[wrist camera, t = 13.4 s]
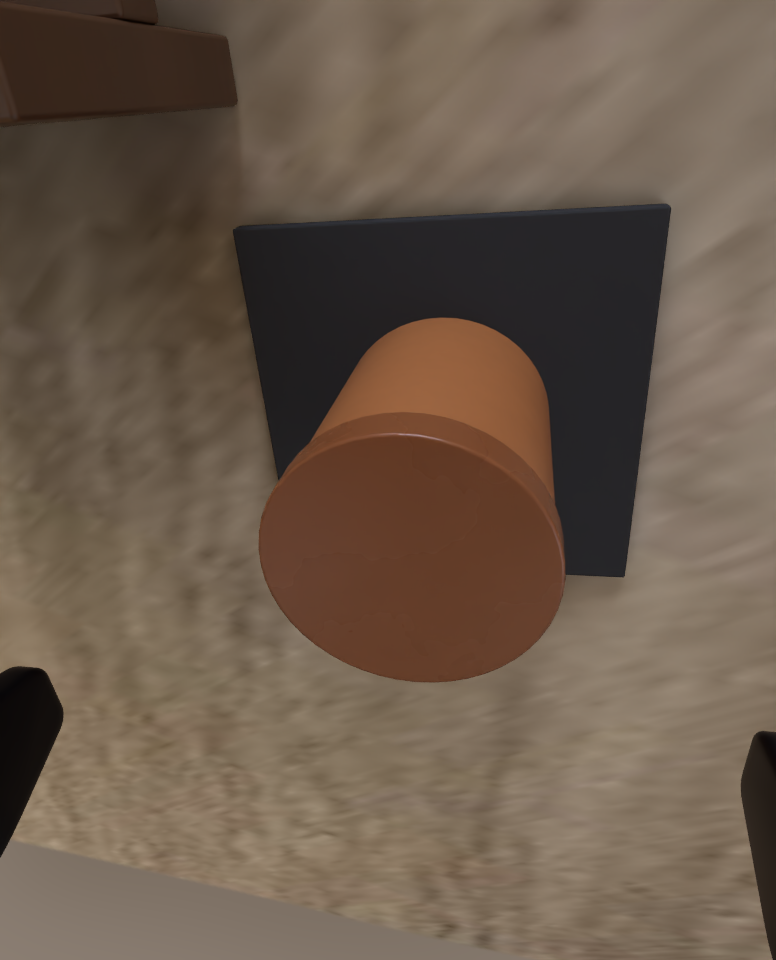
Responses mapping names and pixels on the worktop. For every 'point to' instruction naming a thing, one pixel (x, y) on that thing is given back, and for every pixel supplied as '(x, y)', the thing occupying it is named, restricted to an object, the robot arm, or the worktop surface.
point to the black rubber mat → (485, 300)
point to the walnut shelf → (104, 62)
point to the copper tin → (423, 510)
